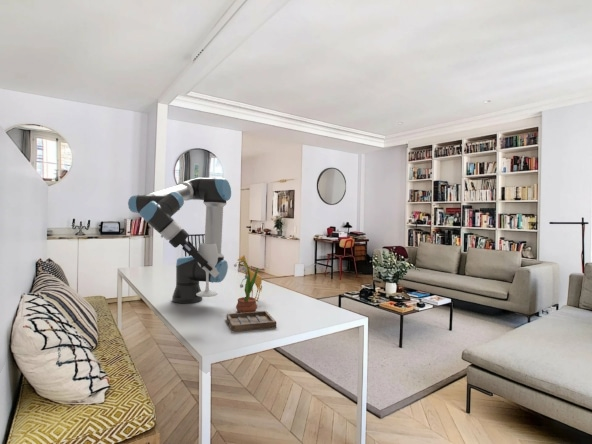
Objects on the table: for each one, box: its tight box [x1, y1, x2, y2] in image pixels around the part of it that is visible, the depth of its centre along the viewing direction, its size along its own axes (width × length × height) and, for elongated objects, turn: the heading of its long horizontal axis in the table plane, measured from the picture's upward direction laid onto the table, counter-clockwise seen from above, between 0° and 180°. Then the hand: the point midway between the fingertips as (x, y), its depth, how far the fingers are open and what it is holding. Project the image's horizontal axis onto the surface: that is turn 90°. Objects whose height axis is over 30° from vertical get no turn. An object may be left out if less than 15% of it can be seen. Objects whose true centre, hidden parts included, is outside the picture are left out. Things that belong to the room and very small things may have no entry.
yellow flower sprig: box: [237, 254, 263, 302], centre depth 178 cm, size 16×4×25 cm, turn 135°
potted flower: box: [233, 259, 259, 313], centre depth 160 cm, size 12×10×25 cm
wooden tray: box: [225, 310, 277, 333], centre depth 143 cm, size 16×18×2 cm
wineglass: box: [196, 242, 219, 298], centre depth 138 cm, size 9×9×21 cm
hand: (215, 273), depth 139 cm, fingers closed on wineglass, 8 cm apart
